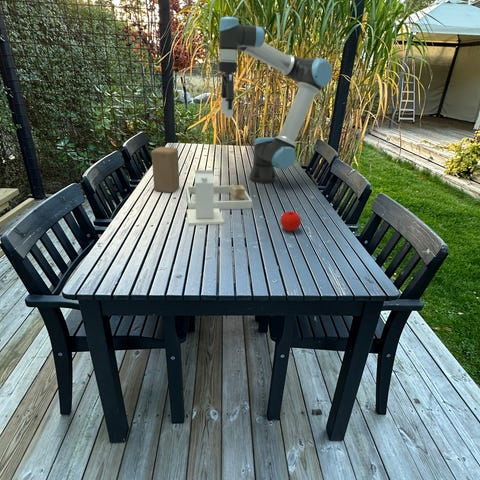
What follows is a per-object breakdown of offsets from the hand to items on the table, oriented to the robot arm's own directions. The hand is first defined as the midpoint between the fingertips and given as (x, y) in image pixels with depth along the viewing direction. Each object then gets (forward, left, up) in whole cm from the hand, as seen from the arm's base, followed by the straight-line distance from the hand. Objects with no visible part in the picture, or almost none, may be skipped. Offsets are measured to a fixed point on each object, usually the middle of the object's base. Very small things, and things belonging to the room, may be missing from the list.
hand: (226, 115), depth 150 cm
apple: (-19, +43, -37) cm, 60 cm away
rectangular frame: (+5, +9, -37) cm, 38 cm away
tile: (+13, +28, -37) cm, 48 cm away
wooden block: (+28, -9, -37) cm, 47 cm away
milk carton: (+13, +28, -36) cm, 47 cm away
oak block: (-3, +14, -37) cm, 40 cm away
